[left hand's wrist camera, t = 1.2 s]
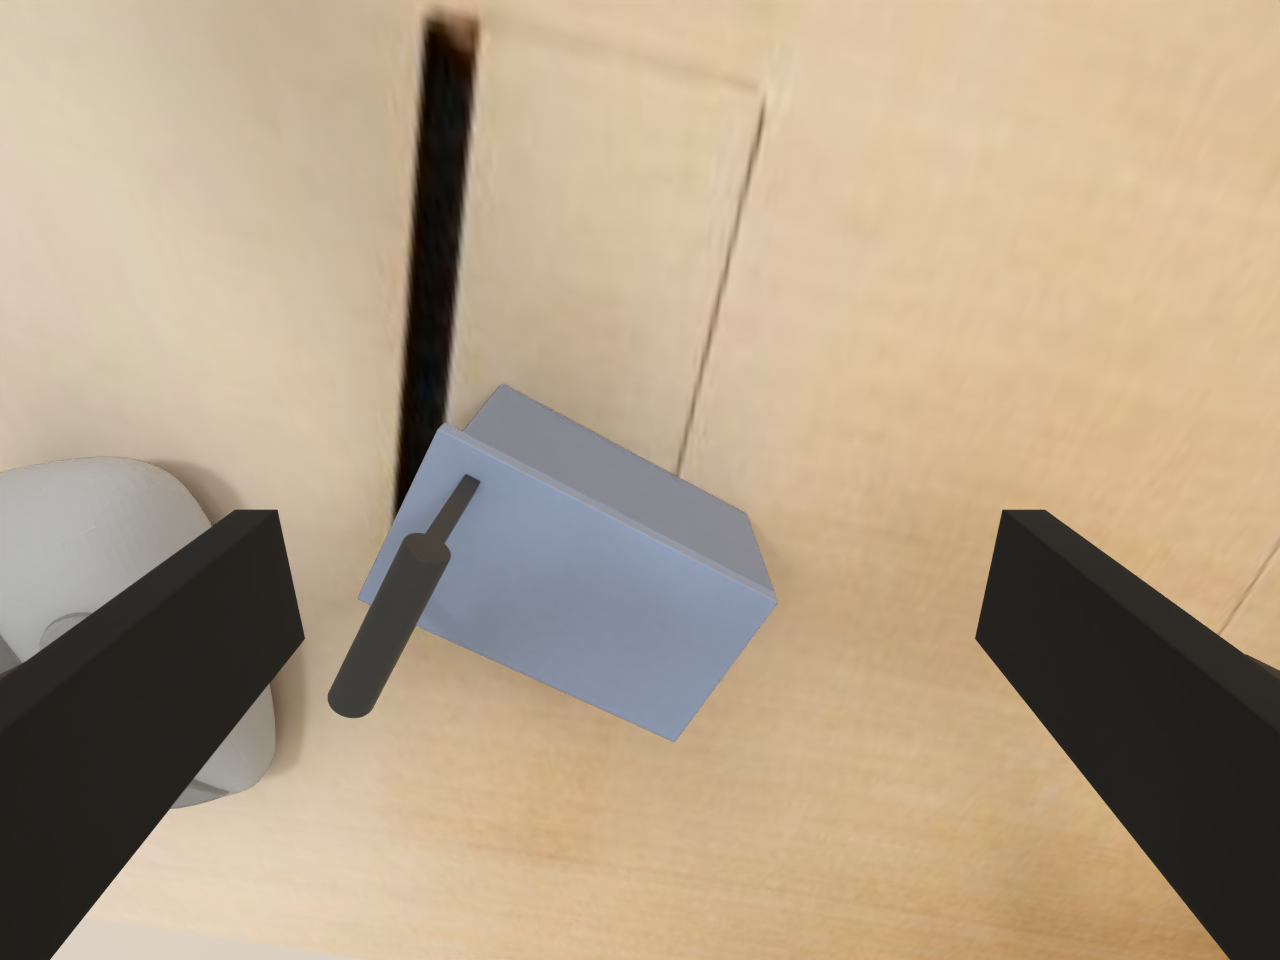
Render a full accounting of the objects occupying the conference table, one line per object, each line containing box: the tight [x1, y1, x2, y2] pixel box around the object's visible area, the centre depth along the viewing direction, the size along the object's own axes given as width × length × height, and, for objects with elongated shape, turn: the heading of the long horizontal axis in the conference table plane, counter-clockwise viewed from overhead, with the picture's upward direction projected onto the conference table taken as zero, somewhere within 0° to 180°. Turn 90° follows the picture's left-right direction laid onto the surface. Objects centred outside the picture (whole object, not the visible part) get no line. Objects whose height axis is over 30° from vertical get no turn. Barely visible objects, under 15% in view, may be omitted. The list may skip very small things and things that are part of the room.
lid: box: [328, 423, 778, 742], centre depth 27 cm, size 16×9×8 cm, turn 61°
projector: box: [0, 457, 276, 809], centre depth 34 cm, size 22×23×15 cm
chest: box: [462, 384, 774, 592], centre depth 35 cm, size 16×9×9 cm, turn 61°
